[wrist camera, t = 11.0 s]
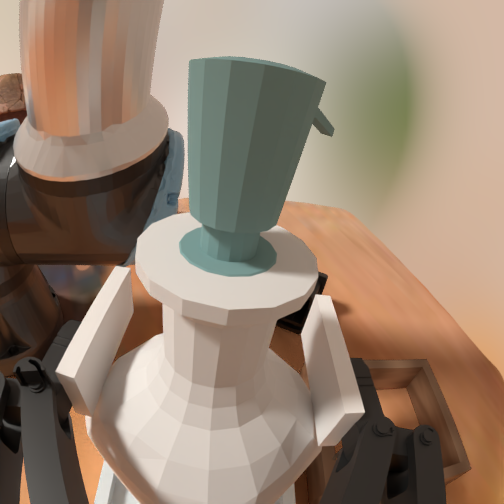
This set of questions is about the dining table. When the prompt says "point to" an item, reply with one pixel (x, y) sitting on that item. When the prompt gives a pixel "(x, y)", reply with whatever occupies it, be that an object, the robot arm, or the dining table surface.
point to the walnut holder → (426, 408)
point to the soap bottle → (221, 305)
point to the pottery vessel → (12, 98)
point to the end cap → (302, 309)
